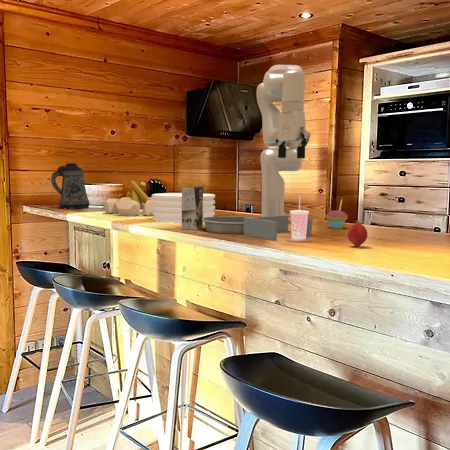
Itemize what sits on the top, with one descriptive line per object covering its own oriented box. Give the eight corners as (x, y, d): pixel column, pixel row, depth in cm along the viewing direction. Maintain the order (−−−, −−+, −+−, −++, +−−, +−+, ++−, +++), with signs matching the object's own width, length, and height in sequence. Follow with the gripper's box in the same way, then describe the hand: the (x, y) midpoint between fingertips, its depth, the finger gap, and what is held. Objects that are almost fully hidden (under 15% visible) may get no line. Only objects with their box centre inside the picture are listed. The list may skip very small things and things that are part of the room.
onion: (344, 245, 158) (345, 219, 157) (362, 245, 158) (363, 219, 157) (350, 248, 152) (351, 221, 151) (369, 248, 152) (370, 221, 152)
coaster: (299, 238, 173) (299, 236, 173) (316, 241, 166) (316, 239, 166) (281, 240, 168) (281, 238, 168) (298, 243, 161) (298, 241, 161)
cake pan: (219, 236, 178) (220, 223, 177) (191, 228, 199) (191, 217, 199) (279, 233, 189) (280, 220, 188) (246, 226, 211) (246, 215, 210)
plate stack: (140, 219, 233) (140, 193, 232) (189, 216, 252) (189, 192, 250) (177, 224, 212) (177, 196, 211) (227, 220, 231) (228, 195, 230)
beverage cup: (301, 240, 163) (302, 196, 161) (285, 238, 167) (286, 195, 165) (311, 238, 168) (313, 195, 166) (295, 236, 172) (296, 194, 170)
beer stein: (95, 208, 293) (95, 163, 290) (69, 210, 276) (68, 163, 273) (75, 206, 301) (74, 163, 298) (48, 208, 285) (47, 163, 282)
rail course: (285, 231, 191) (286, 215, 191) (317, 236, 178) (317, 219, 177) (243, 234, 180) (243, 217, 179) (273, 240, 167) (274, 221, 166)
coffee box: (197, 230, 192) (197, 186, 191) (181, 229, 194) (181, 186, 192) (203, 227, 201) (203, 186, 200) (187, 227, 203) (187, 185, 201)
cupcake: (349, 227, 206) (350, 197, 205) (344, 229, 199) (345, 198, 197) (328, 226, 210) (329, 196, 209) (322, 228, 202) (323, 197, 201)
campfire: (93, 213, 262) (92, 179, 261) (148, 210, 286) (148, 179, 284) (131, 218, 237) (130, 181, 235) (188, 214, 260) (188, 180, 258)
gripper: (268, 109, 183) (267, 157, 186) (302, 105, 169) (300, 158, 172) (284, 110, 187) (282, 157, 190) (318, 107, 173) (316, 158, 176)
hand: (291, 158), depth 181 cm, fingers open, 9 cm apart
